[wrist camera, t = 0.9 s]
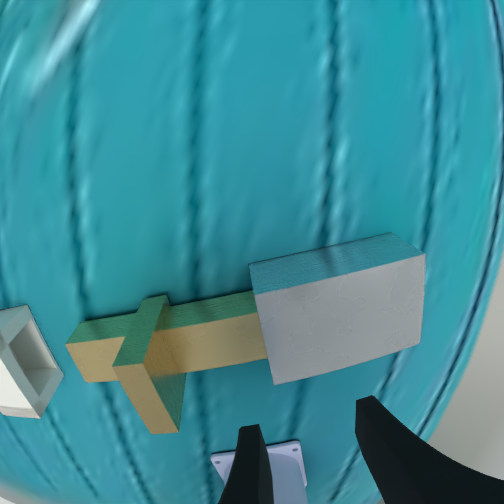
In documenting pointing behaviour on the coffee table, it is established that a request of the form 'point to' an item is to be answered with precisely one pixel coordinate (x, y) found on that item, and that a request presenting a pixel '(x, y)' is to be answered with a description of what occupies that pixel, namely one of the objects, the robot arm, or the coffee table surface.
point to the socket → (25, 365)
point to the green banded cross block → (167, 350)
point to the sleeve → (339, 305)
